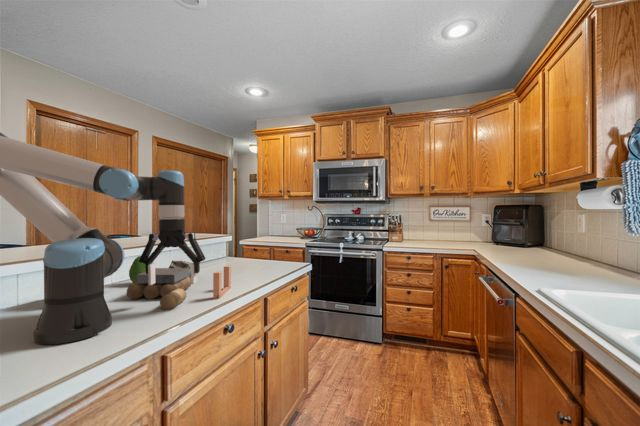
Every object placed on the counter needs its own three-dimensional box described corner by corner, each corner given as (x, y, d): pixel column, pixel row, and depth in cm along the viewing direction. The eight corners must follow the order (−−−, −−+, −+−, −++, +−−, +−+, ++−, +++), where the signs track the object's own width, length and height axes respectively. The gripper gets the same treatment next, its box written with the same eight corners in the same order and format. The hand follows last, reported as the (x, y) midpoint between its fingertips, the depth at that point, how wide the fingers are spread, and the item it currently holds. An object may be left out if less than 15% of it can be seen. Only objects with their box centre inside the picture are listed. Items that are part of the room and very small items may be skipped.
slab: (174, 283, 100) (174, 274, 100) (137, 283, 100) (137, 274, 100) (189, 275, 112) (189, 268, 112) (156, 275, 112) (156, 268, 112)
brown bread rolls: (174, 298, 99) (174, 284, 99) (126, 299, 98) (126, 284, 98) (191, 288, 113) (191, 275, 113) (149, 288, 112) (149, 276, 112)
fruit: (154, 281, 123) (154, 254, 123) (144, 286, 116) (144, 257, 116) (135, 282, 123) (136, 254, 123) (124, 286, 115) (124, 257, 115)
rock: (188, 286, 116) (188, 262, 116) (163, 286, 115) (163, 262, 115) (201, 276, 134) (201, 255, 134) (180, 276, 133) (180, 255, 133)
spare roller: (172, 311, 88) (176, 297, 88) (157, 307, 88) (162, 293, 88) (184, 303, 96) (188, 290, 96) (170, 299, 96) (174, 286, 96)
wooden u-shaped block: (219, 298, 99) (219, 273, 99) (213, 298, 99) (213, 273, 99) (230, 288, 113) (230, 265, 113) (225, 288, 113) (225, 265, 113)
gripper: (214, 217, 96) (215, 280, 96) (140, 218, 95) (141, 281, 96) (206, 218, 89) (207, 285, 89) (125, 219, 88) (126, 287, 88)
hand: (173, 283), depth 92 cm, fingers open, 13 cm apart
